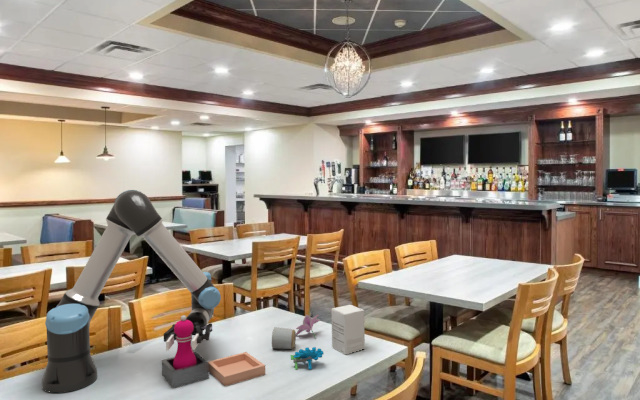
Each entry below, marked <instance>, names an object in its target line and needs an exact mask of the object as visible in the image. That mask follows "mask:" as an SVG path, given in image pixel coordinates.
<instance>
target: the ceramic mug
mask: <svg viewBox="0 0 640 400" xmlns="http://www.w3.org/2000/svg"><path fill="white" fill-rule="evenodd" d="M296 333H297V332H296V330H295V329H293V328H289V327H288V328H285V327H278V326H275V327H274V328H273V329H272V334H271V348H272V349H274V350H278V349H279V350H293V349H294V348H295V345H296V341H297V340H296V338H297V336H296Z"/></svg>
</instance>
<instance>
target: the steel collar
mask: <svg viewBox="0 0 640 400" xmlns="http://www.w3.org/2000/svg"><path fill="white" fill-rule="evenodd" d="M193 353H194V355H195V357H196V362H197V364H196V365H192V366H188V367H184V368H181V369H177V370H175V369H174V368H173V361H174V357H175V356H172V357H168V358H163V359H161V375H162V377H163V378H164V379H165V381H166V382H167V383H168V384H169V386H170V387H171V388H172V389H176V388H179V387H183V386H187V385H189V384H193V383H197V382H201V381H203V380H207V379H210V372H209V363H208V362H209V361H207V360H206V359H205V358H203V356H201V355H200V354H199V353H198V352H197V351H193Z"/></svg>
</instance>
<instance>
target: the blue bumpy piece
mask: <svg viewBox="0 0 640 400" xmlns="http://www.w3.org/2000/svg"><path fill="white" fill-rule="evenodd" d="M324 354H325V353H324V351H323V350H322V348H316V346H314V347H311V349H310V347H305V348H304V349H302V348H300V349H299V350H298V351H295V352H294V354H290V360H291V361H293V363H294V367H295V370H298V367H299V366H298V364H299V363H305V362H307V365H308V366H307V367H308V370H309V371H311V370H313V369H312V368H313V367H312V361H313V360H315V361H317V360H319V358H320V359H322V358H323V355H324Z"/></svg>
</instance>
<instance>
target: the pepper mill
mask: <svg viewBox="0 0 640 400" xmlns="http://www.w3.org/2000/svg"><path fill="white" fill-rule="evenodd" d="M186 318H187V316H186V315H181V316H180V320H178V321H177V322H176V323H175V326H174V332H175V334H176V335H177V336H176V340H175V341H176V342H177V349H176V352H175V355H174V356H173V357H174V361H173V368H174V369H175V370H177V369H181V368H184V367H188V366H192V365H196V364H197V362H196V357H195V355H194V353H193V352H194V350H192V340H193V335H192V334H191V333H192V332H193V329H194V327H193V323H192V322H191V321H189V320H186Z"/></svg>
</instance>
